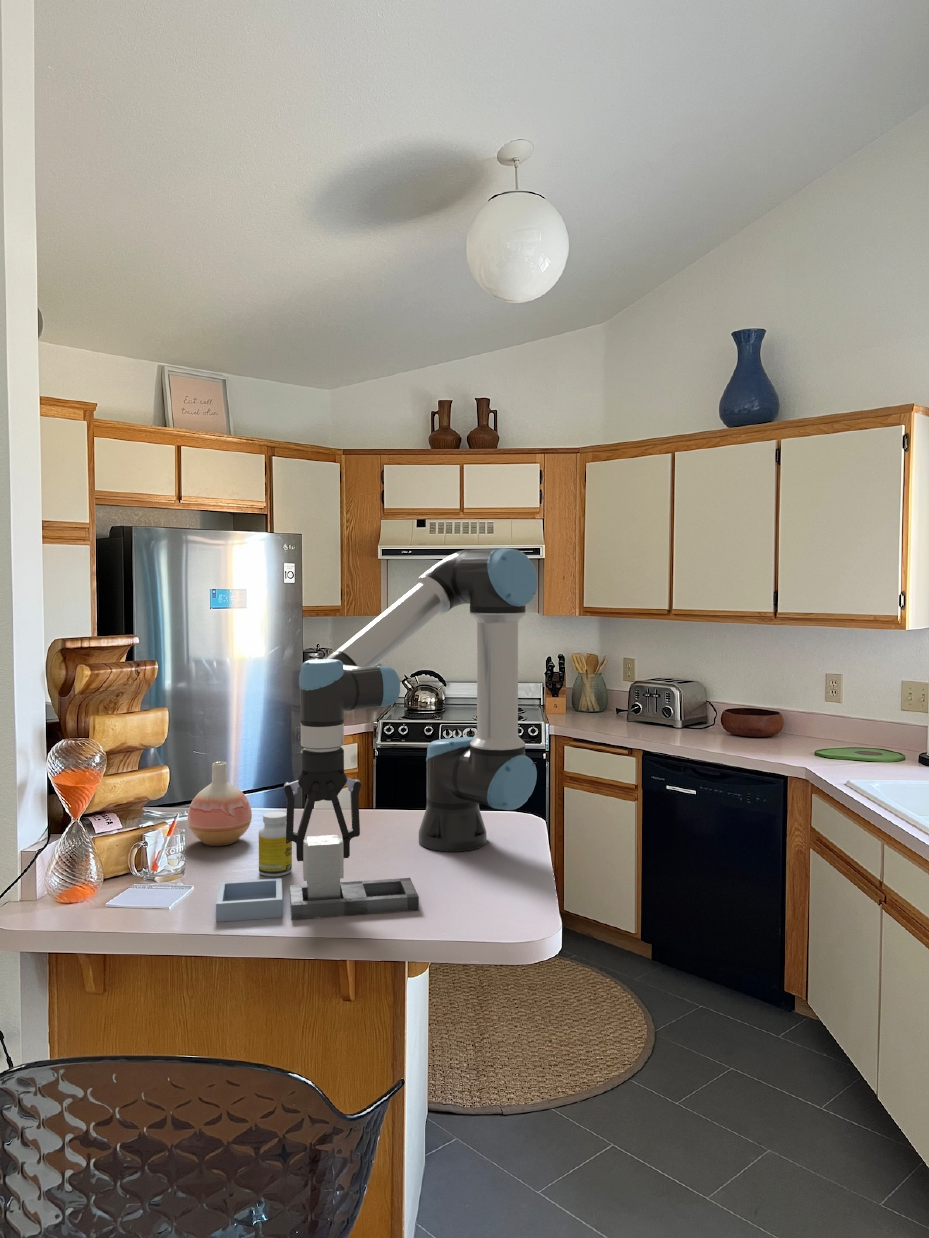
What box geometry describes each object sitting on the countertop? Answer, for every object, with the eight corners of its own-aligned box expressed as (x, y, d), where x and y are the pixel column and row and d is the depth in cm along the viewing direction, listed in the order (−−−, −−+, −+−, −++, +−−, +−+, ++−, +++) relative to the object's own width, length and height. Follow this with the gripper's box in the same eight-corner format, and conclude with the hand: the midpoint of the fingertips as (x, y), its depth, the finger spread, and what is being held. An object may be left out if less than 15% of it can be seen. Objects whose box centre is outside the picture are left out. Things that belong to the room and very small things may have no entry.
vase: (218, 855, 186) (217, 772, 185) (174, 844, 193) (173, 764, 193) (264, 839, 198) (264, 761, 197) (221, 830, 205) (221, 754, 204)
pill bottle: (284, 879, 172) (284, 819, 171) (253, 876, 173) (252, 817, 173) (297, 868, 178) (297, 811, 178) (267, 866, 180) (266, 809, 179)
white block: (337, 888, 161) (337, 834, 160) (340, 899, 155) (339, 843, 155) (307, 891, 160) (306, 836, 159) (308, 902, 154) (307, 845, 154)
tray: (281, 894, 163) (281, 878, 163) (282, 917, 152) (282, 899, 152) (219, 898, 161) (219, 882, 161) (216, 921, 150) (215, 903, 150)
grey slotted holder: (410, 890, 166) (410, 877, 166) (418, 910, 156) (418, 896, 156) (290, 899, 161) (290, 885, 161) (291, 919, 151) (291, 905, 151)
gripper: (372, 741, 162) (373, 866, 163) (268, 745, 158) (269, 873, 159) (377, 749, 154) (377, 880, 156) (268, 753, 151) (269, 888, 152)
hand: (323, 876), depth 157 cm, fingers closed on white block, 5 cm apart
